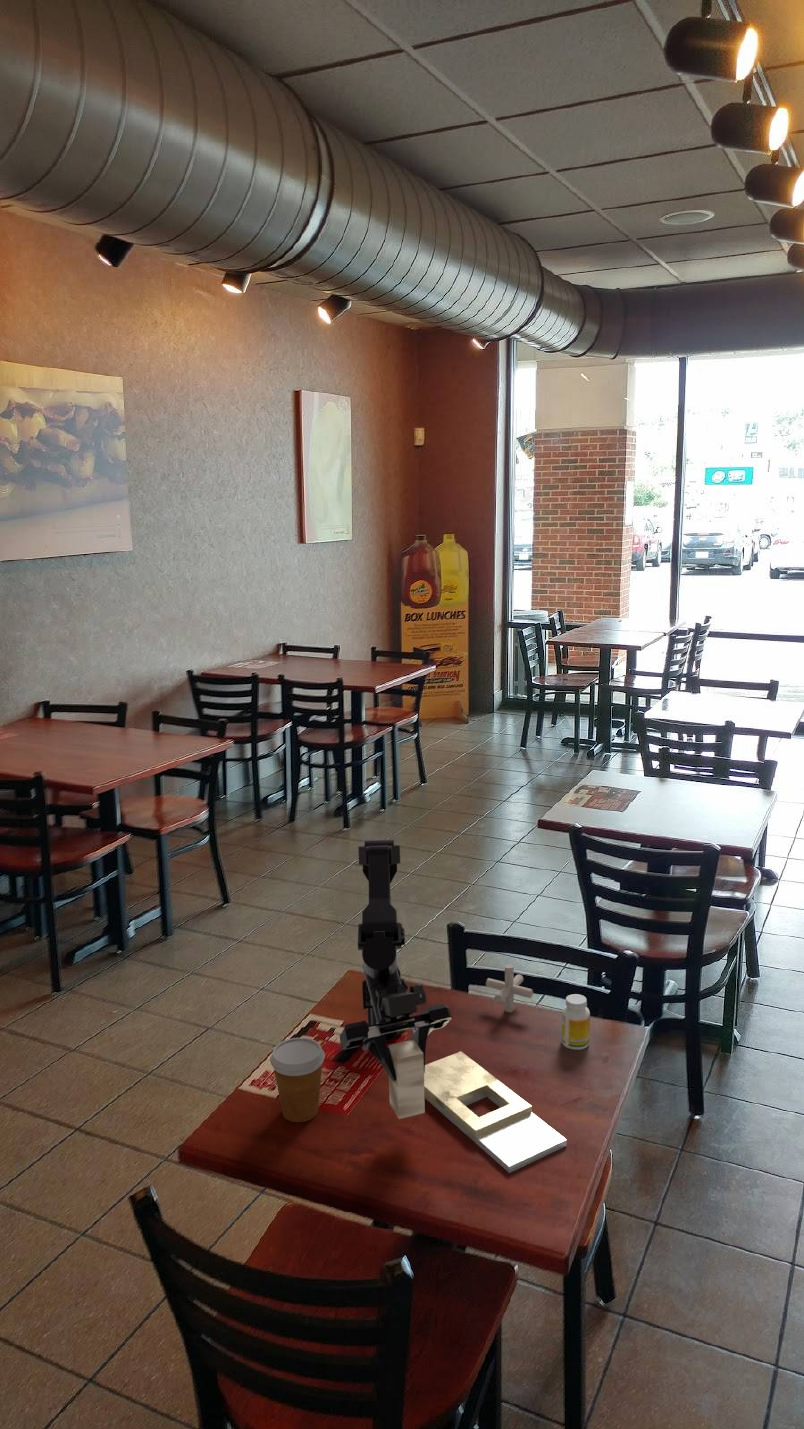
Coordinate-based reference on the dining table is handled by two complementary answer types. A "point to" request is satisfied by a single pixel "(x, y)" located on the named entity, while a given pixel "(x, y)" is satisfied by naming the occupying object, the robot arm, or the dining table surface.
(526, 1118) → the plate with square hole
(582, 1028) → the supplement bottle
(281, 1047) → the disposable coffee cup
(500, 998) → the pipe connector
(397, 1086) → the maple pin
